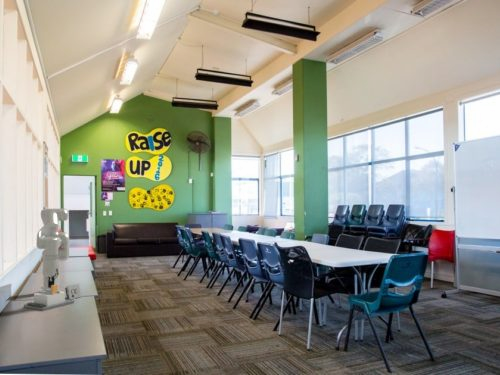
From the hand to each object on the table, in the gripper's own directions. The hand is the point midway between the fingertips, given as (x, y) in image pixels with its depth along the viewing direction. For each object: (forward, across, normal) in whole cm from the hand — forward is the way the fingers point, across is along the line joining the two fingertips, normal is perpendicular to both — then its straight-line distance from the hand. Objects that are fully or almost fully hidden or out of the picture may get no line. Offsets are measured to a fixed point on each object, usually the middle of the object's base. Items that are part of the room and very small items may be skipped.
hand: (51, 287), depth 251 cm
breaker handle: (+4, +3, 0) cm, 5 cm away
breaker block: (+11, -2, 0) cm, 11 cm away
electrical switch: (+11, -4, +19) cm, 23 cm away
